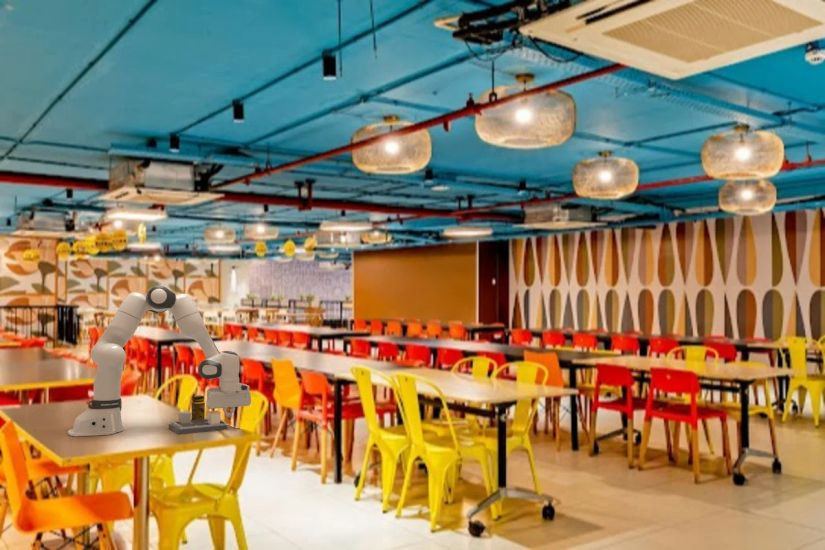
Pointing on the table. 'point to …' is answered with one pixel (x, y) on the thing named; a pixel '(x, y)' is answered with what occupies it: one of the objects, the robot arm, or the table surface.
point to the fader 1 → (184, 417)
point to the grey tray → (196, 426)
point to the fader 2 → (213, 417)
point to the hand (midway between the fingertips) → (228, 417)
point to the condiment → (198, 408)
